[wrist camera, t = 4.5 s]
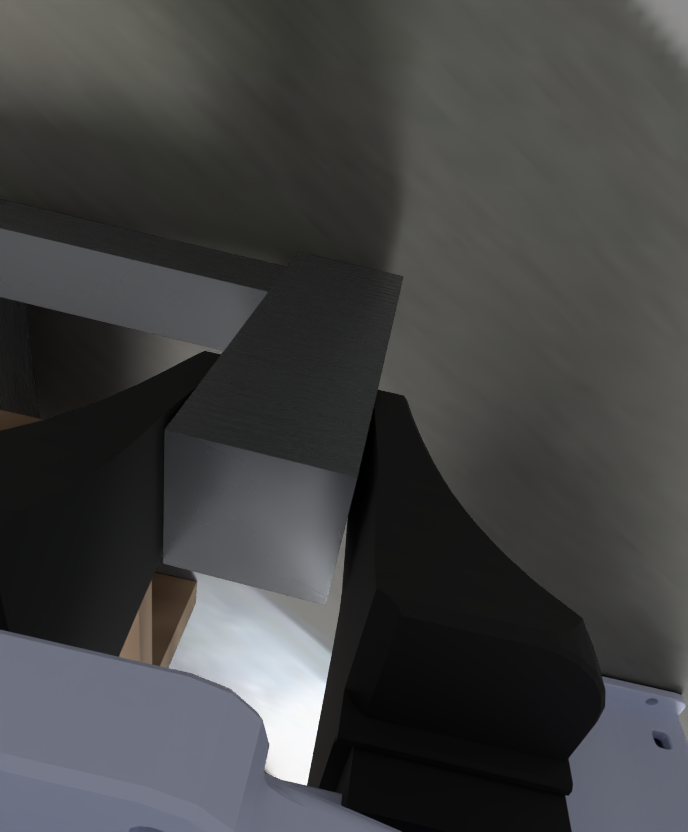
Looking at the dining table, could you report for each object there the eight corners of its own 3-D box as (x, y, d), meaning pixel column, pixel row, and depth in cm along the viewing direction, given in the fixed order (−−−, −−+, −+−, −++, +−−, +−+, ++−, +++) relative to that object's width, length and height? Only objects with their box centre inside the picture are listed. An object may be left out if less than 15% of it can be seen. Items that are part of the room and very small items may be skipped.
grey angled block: (403, 276, 16) (358, 477, 9) (347, 501, 21) (287, 757, 13) (-58, 168, 17) (-476, 271, 9) (-11, 411, 21) (-263, 610, 14)
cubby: (209, 360, 20) (135, 465, 15) (195, 603, 27) (141, 729, 22) (-44, 304, 20) (-202, 390, 15) (7, 561, 27) (-88, 677, 22)
